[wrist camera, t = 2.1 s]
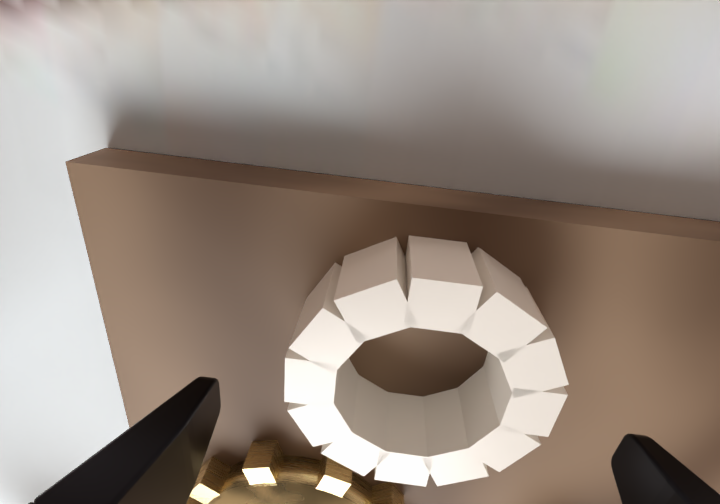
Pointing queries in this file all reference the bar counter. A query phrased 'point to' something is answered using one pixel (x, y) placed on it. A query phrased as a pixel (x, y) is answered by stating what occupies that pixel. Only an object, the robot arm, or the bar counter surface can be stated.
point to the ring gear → (436, 411)
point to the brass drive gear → (286, 481)
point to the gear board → (411, 345)
